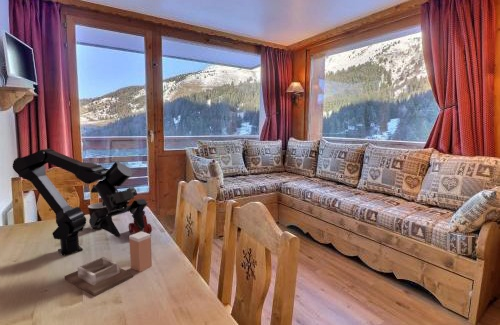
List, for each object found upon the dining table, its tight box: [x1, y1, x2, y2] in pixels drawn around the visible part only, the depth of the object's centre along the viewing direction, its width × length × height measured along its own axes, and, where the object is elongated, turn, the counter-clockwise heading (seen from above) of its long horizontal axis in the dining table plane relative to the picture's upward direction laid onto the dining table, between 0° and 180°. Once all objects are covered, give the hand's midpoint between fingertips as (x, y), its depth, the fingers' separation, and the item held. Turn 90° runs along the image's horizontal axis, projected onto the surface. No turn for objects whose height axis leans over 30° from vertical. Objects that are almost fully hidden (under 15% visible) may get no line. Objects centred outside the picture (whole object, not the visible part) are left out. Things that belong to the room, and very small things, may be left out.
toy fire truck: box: [127, 209, 153, 235], centre depth 124 cm, size 7×12×10 cm, turn 40°
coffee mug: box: [87, 202, 108, 231], centre depth 131 cm, size 12×9×10 cm
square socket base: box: [64, 256, 134, 297], centre depth 89 cm, size 16×12×4 cm
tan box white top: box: [128, 231, 153, 273], centre depth 95 cm, size 5×5×11 cm
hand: (132, 232), depth 96 cm, fingers open, 9 cm apart
